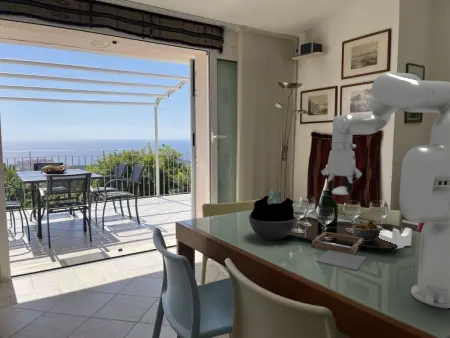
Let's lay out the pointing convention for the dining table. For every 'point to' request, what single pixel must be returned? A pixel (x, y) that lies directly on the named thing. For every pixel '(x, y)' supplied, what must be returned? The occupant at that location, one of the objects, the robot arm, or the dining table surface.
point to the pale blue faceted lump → (274, 197)
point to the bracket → (397, 237)
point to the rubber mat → (341, 260)
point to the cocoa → (340, 192)
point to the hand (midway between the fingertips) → (340, 191)
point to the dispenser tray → (336, 247)
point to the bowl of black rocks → (272, 218)
